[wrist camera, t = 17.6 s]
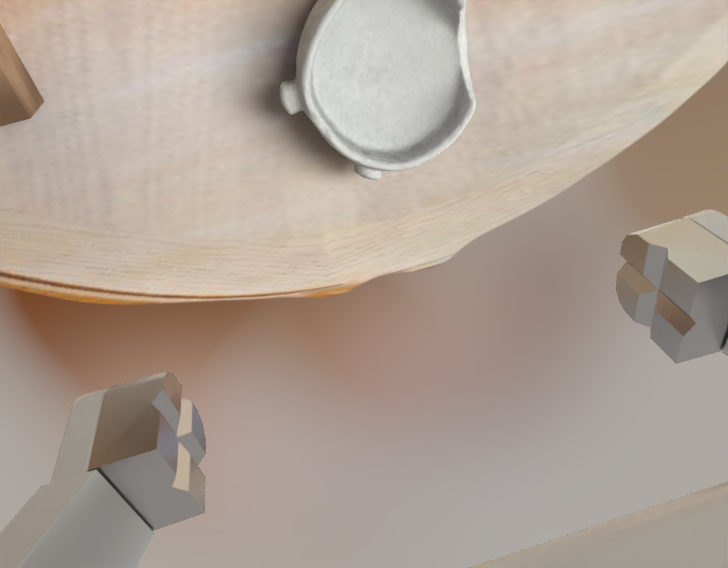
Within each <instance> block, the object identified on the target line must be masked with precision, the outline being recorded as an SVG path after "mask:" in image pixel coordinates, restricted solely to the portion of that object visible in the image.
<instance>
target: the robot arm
mask: <svg viewBox="0 0 728 568" xmlns="http://www.w3.org/2000/svg"><path fill="white" fill-rule="evenodd" d="M620 255H621V256H622V257H623V258H624V259H625V260H626V263H625V264H624V265H623V267H622V268H621V269H620V271H619V272H618V273H617V281H616V291H617V295H618V298H619V302H620V304H621V305H622V307H623V309H624V310H625V312H626V313H627V314H628V315H629V316H630V317H631V318H632V319H633V321H635V322H637V323H640V324H643V325H646V326H649V327H650V329H651V330H650V332H651V339H652V340H653V341H654V342H655V343H656V344H657V345H658V346H659V347H660V348H661V349H662V350H663V351H664V352H665V353H666V354H667V355H668V356H669V357H670V358H671V359H672V360H673V361H674V362H675V363H680V362H684V361H688V360H691V359H694V358H698V357H702V356H705V355H708V354H712V353H715V352H719V351H722V350H723V353H724V354H726V355H728V217H726V216H725V215H723V214H721V213H720V212H718V211H714V210H709V209H707V210H704V211H701V212H698V213H694V214H691V215H688V216H685V217H682V218H680V219H678V220H674V221H670V222H667V223H664V224H660V225H657V226H654V227H651V228H648V229H644V230H641V231H638V232H635V233H631V234H628V235H627V236H626V237H625V239H624V240H623V242H622V246H621V252H620ZM181 395H182V384H181V383H180V382H179V380H178V379H177V377H176V376H175V374H174V373H173V372H168V371H167V372H164V373H160V374H156V375H153V376H149V377H145V378H142V379H138V380H134V381H131V382H127V383H124V384H120V385H116V386H112V387H110V388H108V389H104V390H100V391H96V392H93V393H89V394H86V395H82V396H79V397H78V398H77V399H76V400H75V401H74V403H73V405H72V409H71V412H70V416H69V419H68V422H67V426H66V430H65V433H64V437H63V441H62V444H61V447H60V451H59V455H58V458H57V462H56V466H55V469H54V472H53V476H52V479H51V483H50V484H47V485H44V486H41V487H40V488H39V489H38V490H37V491H36V493H35V494H34V495H33V496H32V497H31V498H30V499H29V500H28V502H27V503H26V504H25V505H24V506H23V507H22V508H21V510H20V511H19V512H18V513H17V514H16V515H15V516H14V518H13V519H12V520H11V521H10V522H9V524H8V525H7V526H6V527H5V528H4V529H3V530H2V531H1V533H0V568H136V567H137V565H138V563H139V562H140V560H141V558H142V556H143V554H144V552H145V550H146V548H147V547H148V545H149V543H150V541H151V539H152V537H153V535H154V532H153V531H154V530H157V529H160V528H162V527H165V526H168V525H171V524H174V523H177V522H180V521H183V520H186V519H189V518H191V517H194V516H197V515H200V514H203V513H205V476H204V474H203V473H202V471H201V470H200V468H199V467H198V465H199V463H200V462H201V460H202V459H203V457H204V456H205V454H206V439H205V434H204V428H203V423H202V421H201V418H200V415H199V413H198V411H197V409H196V407H195V406H194V404H193V402H191V401H188V400H186V399H184V398H181ZM470 568H728V482H725V483H722V484H719V485H716V486H713V487H710V488H707V489H704V490H701V491H698V492H695V493H692V494H689V495H686V496H683V497H680V498H677V499H674V500H671V501H668V502H665V503H662V504H659V505H656V506H653V507H650V508H647V509H644V510H641V511H638V512H635V513H632V514H629V515H626V516H623V517H620V518H617V519H614V520H611V521H608V522H605V523H602V524H599V525H596V526H593V527H590V528H587V529H584V530H581V531H578V532H575V533H572V534H569V535H566V536H563V537H560V538H557V539H554V540H551V541H548V542H545V543H542V544H539V545H536V546H533V547H530V548H527V549H524V550H521V551H518V552H515V553H512V554H509V555H506V556H503V557H500V558H497V559H494V560H491V561H488V562H485V563H482V564H479V565H476V566H473V567H470Z"/></svg>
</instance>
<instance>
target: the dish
mask: <svg viewBox="0 0 728 568" xmlns="http://www.w3.org/2000/svg"><path fill="white" fill-rule="evenodd" d="M465 5H466V0H317V2H316V4H315V5H314V7H313V8H312V10H311V12H310V14H309V16H308V18H307V21H306V23H305V25H304V28H303V31H302V34H301V37H300V41H299V45H298V50H297V58H296V78H295V79H294V80H292V81H283V82H282V83H281V85H280V102H281V104H282V105H283V107H284V108H285V109H286V111H287V112H288V113H289V114H290V115H294V114H295V113H297V112H300V111H303V112H305V114H306V115H307V116H308V117H309V119H310V120H311V121H312V123H313V124H314V125H315V126H316V128H317V129H318V131H319V132H320V134H321V135H322V136H323V138H324V139H325V140H326V141H327V142H328V143H329V144H330V145H331V146H332V147H333V148H334V149H335V150H336V151H337V152H339V153H340V154H341V155H343V156H344V157H346V158H347V159H349V160H351V161H352V162H354V163H355V172H356V173H357V174H359V175H360V176H362V177H364V178H368V179H372V180H377V179H380V178H381V175H382V171H401V170H406V169H409V168H413V167H416V166H418V165H420V164H423V163H425V162H427V161H429V160H430V159H432V158H433V157H435V156H436V155H438V154H439V153H441V152H442V151H443V150H445V149H446V148H447V147H448V146H449V145H451V144H452V143H453V142H454V141H455V140H456V139H457V137H458V136H459V135H460V134H461V132H462V131H463V129H464V127H465V126H466V124H467V123H468V122H469V120H470V119H471V117H472V115H473V113H474V111H475V108H476V97H475V93H474V90H473V87H472V84H471V76H470V71H469V65H468V57H467V39H466V25H465Z"/></svg>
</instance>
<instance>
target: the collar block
mask: <svg viewBox="0 0 728 568" xmlns="http://www.w3.org/2000/svg"><path fill="white" fill-rule="evenodd" d="M43 102H44V100H43V98H42V97H41V95H40V93H39V91H38V90H37V88H36V86H35V84H34V82H33V81H32V79H31V77H30V75H29V74H28V72H27V70H26V68H25V67H24V65H23V63H22V61H21V60H20V58H19V56H18V54H17V53H16V51H15V49H14V47H13V46H12V44H11V42H10V40H9V39H8V37H7V35H6V33H5V32H4V30H3V28H2V26H1V25H0V126H3V125H7V124H11V123H14V122H18V121H22V120H26V119H30V118H31V117H32V116H33V115H34V113H35V112H36V111H37V110H38V108H39V107H40V106H41V105H42V103H43Z"/></svg>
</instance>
